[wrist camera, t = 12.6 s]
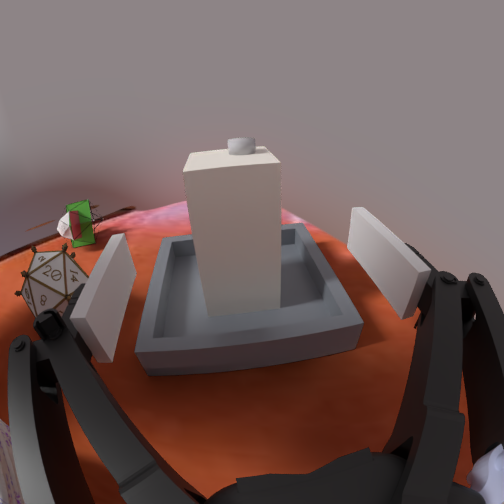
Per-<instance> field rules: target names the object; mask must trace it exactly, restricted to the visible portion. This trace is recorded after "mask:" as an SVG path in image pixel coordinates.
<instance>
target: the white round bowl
mask: <svg viewBox="0 0 504 504" xmlns="http://www.w3.org/2000/svg"><path fill="white" fill-rule="evenodd" d="M0 504H25V503H24V500H23V496H22V492H21V489H20V485H19V481H18V476H17V472H16V467H15V462H14V456H13V450H12V443H11V435H10V427H9V426H8V425H6V424H5V423H4V422H3V421H2V420H1V419H0Z"/></svg>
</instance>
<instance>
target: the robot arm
mask: <svg viewBox="0 0 504 504" xmlns="http://www.w3.org/2000/svg"><path fill="white" fill-rule="evenodd" d="M347 248H348V249H349V251H350V252H351V253H352V254H353V256H354V257H355V258H356V260H357V261H358V262H359V263H360V265H361V266H362V267H363V268H364V270H365V271H366V272H367V274H368V275H369V276H370V278H371V279H372V280H373V281H374V283H375V284H376V285H377V287H378V288H379V289H380V291H381V292H382V293H383V295H384V296H385V298H386V299H387V300H388V302H389V303H390V304H391V306H392V307H393V309H394V310H395V311H396V313H397V314H398V316H399V317H400V319H401V320H402V319H406V318H409V317H412V316H413V315H414V313H415V311H416V308H417V307H418V308H419V309H420V311H421V313H420V315H419V318H418V320H417V322H416V324H415V326H414V328H415V329H416V327H417V333H416V340H415V345H414V351H413V356H412V362H411V366H410V371H409V376H408V380H407V384H406V388H405V392H404V396H403V400H402V403H401V407H400V410H399V414H398V417H397V420H396V424H395V427H394V430H393V433H392V435H391V437H390V439H389V441H388V442H387V444H386V445H385V447H384V449H383V451H382V452H370V449H369V447H368V448H365V449H363V450H360V451H357V452H354V453H351V454H348V455H345V456H342V457H339V458H337V459H336V460H334V461H332V462H330V463H329V464H327V465H325V466H323V467H321V468H319V469H317V470H315V471H313V472H311V473H309V474H266V475H259V476H251V477H243V478H236V481H237V483H235V484H232V485H229V486H227V487H225V488H223V489H221V490H219V491H218V492H216V493H215V494H213V495H212V496H211V497H210V498H209V499H207V498H205V497H204V496H203V495H202V494H201V493H200V492H198V491H197V490H196V489H195V488H194V487H193V486H191V485H190V484H189V483H188V482H186V481H185V480H184V479H183V478H182V477H181V476H180V475H179V474H178V473H177V472H176V471H175V470H174V469H173V468H172V467H171V466H170V465H169V464H168V463H167V462H166V461H165V460H164V459H163V458H162V457H161V456H160V455H159V453H158V452H157V451H156V450H155V449H154V448H153V447H152V446H151V444H150V443H149V442H148V441H147V440H146V439H145V437H144V436H143V435H142V434H141V433H140V431H139V430H138V429H137V428H136V426H135V425H134V424H133V423H132V421H131V420H130V419H129V418H128V416H127V415H126V414H125V412H124V411H123V410H122V408H121V407H120V405H119V404H118V403H117V401H116V400H115V398H114V397H113V395H112V394H111V393H110V391H109V390H108V388H107V387H106V385H105V384H104V382H103V380H102V379H101V377H100V376H99V374H98V373H97V371H96V369H95V368H94V366H93V365H92V363H91V362H90V361H91V357H92V355H93V356H94V358H95V359H96V361H97V362H98V363H113V358H114V354H115V349H116V345H117V341H118V337H119V333H120V329H121V325H122V321H123V318H124V314H125V310H126V307H127V303H128V300H129V296H130V293H131V290H132V287H133V283H134V280H135V277H136V274H137V273H136V270H135V267H134V264H133V261H132V257H131V254H130V251H129V248H128V244H127V241H126V238H125V234H124V233H122V234H115V235H112V236H111V238H110V240H109V241H108V243H107V245H106V247H105V248H104V250H103V252H102V254H101V256H100V257H99V259H98V261H97V263H96V265H95V267H94V269H93V270H92V272H91V274H90V276H89V278H88V280H87V282H86V283H82V284H80V285H79V287H78V288H77V289H76V290H75V291H74V293H73V295H72V297H71V299H70V301H69V303H68V305H67V307H66V309H65V311H64V313H63V315H62V317H61V316H60V314H59V312H58V311H57V310H56V309H53V308H50V309H46V310H44V311H42V312H41V313H40V314H39V315H38V316H37V317H36V318H35V320H34V323H33V327H34V329H35V330H36V332H37V333H38V335H39V336H40V337H41V339H40V340H37V341H34V342H32V341H31V339H30V338H29V337H28V336H27V335H20V336H18V337H16V338H15V339H14V340H13V342H12V343H11V345H10V348H9V359H8V413H9V426H10V435H11V443H12V450H13V456H14V462H15V467H16V472H17V476H18V481H19V485H20V489H21V492H22V496H23V500H24V503H25V504H95V503H94V500H93V498H92V496H91V493H90V491H89V488H88V486H87V483H86V481H85V478H84V475H83V473H82V470H81V467H80V464H79V461H78V458H77V455H76V451H75V448H74V445H73V441H72V437H71V434H70V430H69V426H68V422H67V417H66V413H65V408H64V403H63V398H62V392H61V388H62V390H63V393H64V395H65V397H66V399H67V401H68V403H69V405H70V407H71V409H72V411H73V413H74V415H75V417H76V419H77V421H78V422H79V424H80V426H81V428H82V430H83V431H84V433H85V435H86V437H87V438H88V440H89V442H90V443H91V445H92V446H93V448H94V450H95V451H96V453H97V454H98V456H99V457H100V459H101V460H102V462H103V463H104V465H105V466H106V468H107V469H108V470H109V472H110V473H111V475H112V476H113V477H114V479H115V480H116V481H117V483H118V485H119V492H120V495H121V496H122V498H123V499H124V500H125V502H126V503H127V504H501V503H503V502H504V314H503V311H502V309H501V307H500V305H499V302H498V300H497V298H496V296H495V294H494V292H493V290H492V288H491V286H490V284H489V282H488V281H487V279H486V278H485V277H484V276H483V275H481V274H478V273H471V274H470V275H469V277H468V279H467V281H458V279H457V278H456V277H455V276H454V275H452V274H451V273H448V272H445V271H440V272H438V271H437V270H436V269H435V268H434V267H433V266H432V265H431V264H430V263H429V262H428V261H427V260H426V259H425V258H424V257H423V256H422V255H421V254H419V252H418V251H417V250H416V249H415V248H414V247H412V246H410V245H408V244H407V243H403V242H402V241H401V240H400V239H399V238H398V237H397V236H396V235H395V234H394V233H392V232H391V231H390V230H389V229H388V228H387V227H386V226H385V225H383V224H382V223H381V222H380V221H379V220H378V219H377V218H375V217H374V216H373V215H372V214H371V213H370V212H368V211H367V210H366V209H365V208H364V207H357V208H352V214H351V222H350V230H349V238H348V245H347ZM475 314H476V319H474V315H475ZM462 371H463V377H464V383H465V390H466V397H467V406H468V416H469V430H470V447H471V455H472V462H473V466H474V467H473V469H472V471H470V472H469V473H468V475H467V479H466V480H467V483H468V484H469V485H471V488H468V487H465V486H462V485H460V484H457V483H455V482H453V477H454V474H455V470H456V466H457V462H458V457H459V453H460V448H461V443H462V438H463V432H464V425H465V416H464V414H462V413H459V400H460V390H461V378H462Z"/></svg>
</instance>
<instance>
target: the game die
mask: <svg viewBox="0 0 504 504" xmlns="http://www.w3.org/2000/svg"><path fill="white" fill-rule="evenodd" d="M62 246H63V247H62V251H45V252H37V251H36V250H37V249H36V247H34V246H32V249H31V250H32V252H34V256H33V258H32V261H31V264H30V266H29V269H28V272H25V270H24V271H23V272H21V274H22V277H25V280H24V283H23V286H22V289H21V291H16V292H15V295H17V296H20V295H22V296H23V298H24V300H25V301H26V303H27V305H28V307H29V308H30V310H31V312H32V313H33V315H34V316H35V318H36V317H37V316H38V315H39V314H40V313H41V312H42V311H44V310H46V309H50V308H53V309H56V310H57V311H58V312H59V314H60V316H61V317H62V315H63V313H64V311H65V309H66V307H67V305H68V303H69V301H70V299H71V297H72V295H73V293H74V291H75V290H76V289H77V288H78V287H79V285H80V284H82V283H86V282H87V280H88V278H89V276H88V275H87V274H86V273H85V272H84V271H83V270H82V268H81V267H80V266H79V265H78V264H77V263H76V262H75V260H74V259H73V258H75V252H73V253H72V254H71V255H69V254H68V253H67V252H65V251H66V250H67V247H68V246H67V243H65V244H64V245H62ZM35 331H36V330H35Z"/></svg>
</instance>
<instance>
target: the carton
mask: <svg viewBox="0 0 504 504" xmlns="http://www.w3.org/2000/svg"><path fill="white" fill-rule="evenodd" d="M183 178H184V185H185V192H186V198H187V206H188V212H189V218H190V224H191V230H192V236H193V242H194V247H195V253H196V258H197V264H198V269H199V274H200V279H201V284H202V289H203V294H204V299H205V304H206V309H207V313H208V317H211V316H221V315H230V314H239V313H247V312H255V311H263V310H271V309H278V308H280V295H281V162H280V161H279V160H278V159H277V158H276V157H275V156H274V155H272V154H271V152H270V151H269V150H267V148H265V147H264V146H261V147H255V138H234V139H230V140H228V149H222V150H214V151H205V152H196V153H190V156H189V158H188V160H187V163H186V165H185V167H184V170H183Z"/></svg>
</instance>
